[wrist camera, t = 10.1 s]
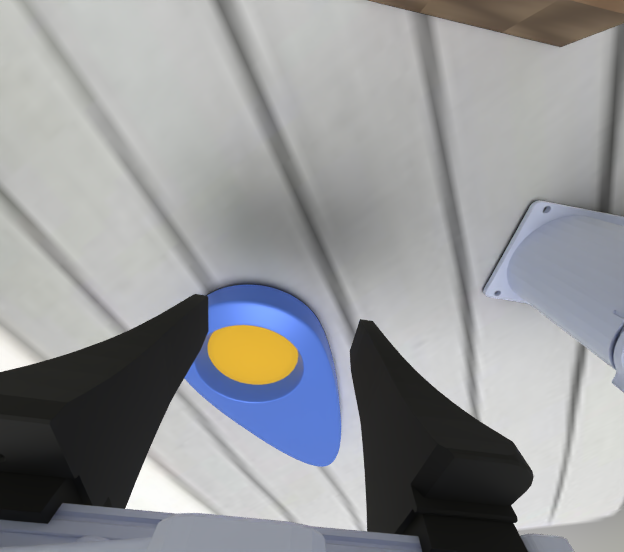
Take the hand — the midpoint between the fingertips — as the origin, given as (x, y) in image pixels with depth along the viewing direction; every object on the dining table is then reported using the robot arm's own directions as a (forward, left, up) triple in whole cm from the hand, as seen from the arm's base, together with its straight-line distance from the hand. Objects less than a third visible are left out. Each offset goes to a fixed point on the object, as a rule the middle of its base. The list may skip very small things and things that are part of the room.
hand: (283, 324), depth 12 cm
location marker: (-1, +15, -10) cm, 18 cm away
